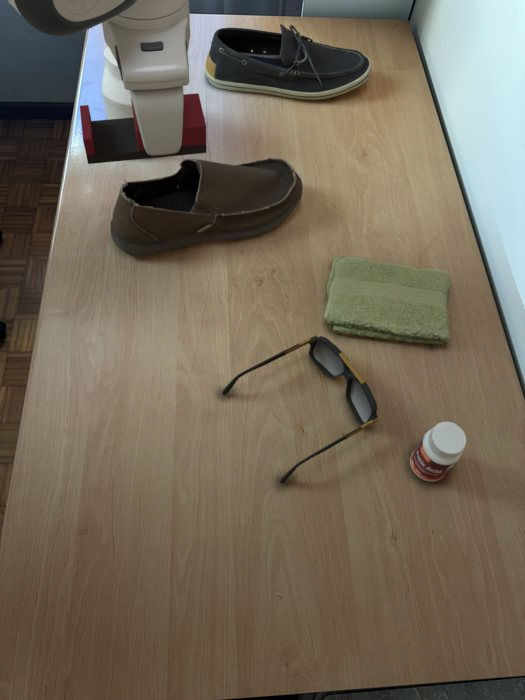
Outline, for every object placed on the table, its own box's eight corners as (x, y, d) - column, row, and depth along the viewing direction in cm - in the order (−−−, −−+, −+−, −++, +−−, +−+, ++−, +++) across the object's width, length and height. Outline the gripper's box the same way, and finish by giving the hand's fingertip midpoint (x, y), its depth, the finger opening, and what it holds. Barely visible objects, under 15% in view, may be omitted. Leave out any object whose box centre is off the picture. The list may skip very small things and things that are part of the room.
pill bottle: (402, 466, 82) (420, 438, 75) (422, 439, 84) (442, 410, 77) (434, 490, 81) (456, 465, 74) (454, 462, 83) (477, 435, 76)
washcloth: (329, 260, 98) (332, 246, 96) (447, 279, 98) (454, 266, 95) (320, 333, 91) (323, 320, 89) (447, 354, 91) (454, 342, 88)
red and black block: (88, 164, 78) (82, 137, 74) (84, 129, 81) (78, 101, 77) (206, 153, 80) (206, 126, 76) (199, 119, 83) (198, 92, 79)
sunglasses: (221, 395, 85) (222, 376, 81) (318, 345, 90) (323, 325, 86) (280, 484, 80) (284, 469, 75) (380, 426, 85) (389, 408, 80)
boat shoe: (369, 107, 117) (381, 61, 109) (203, 96, 115) (202, 48, 107) (365, 68, 123) (376, 21, 115) (206, 57, 121) (206, 9, 113)
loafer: (314, 219, 102) (324, 167, 93) (130, 280, 94) (121, 230, 85) (282, 172, 107) (288, 118, 98) (104, 226, 99) (93, 173, 90)
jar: (115, 108, 112) (103, 25, 99) (172, 110, 113) (168, 28, 100) (109, 156, 106) (95, 74, 93) (169, 158, 107) (163, 77, 94)
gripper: (105, -36, 72) (121, 75, 84) (124, 88, 62) (138, 194, 74) (164, -39, 73) (171, 71, 85) (191, 82, 63) (195, 188, 75)
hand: (156, 129), depth 79 cm, fingers closed on red and black block, 6 cm apart
